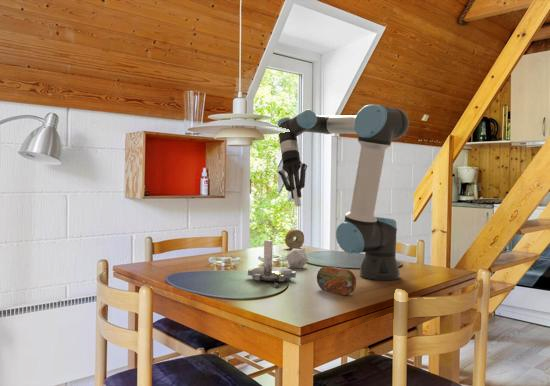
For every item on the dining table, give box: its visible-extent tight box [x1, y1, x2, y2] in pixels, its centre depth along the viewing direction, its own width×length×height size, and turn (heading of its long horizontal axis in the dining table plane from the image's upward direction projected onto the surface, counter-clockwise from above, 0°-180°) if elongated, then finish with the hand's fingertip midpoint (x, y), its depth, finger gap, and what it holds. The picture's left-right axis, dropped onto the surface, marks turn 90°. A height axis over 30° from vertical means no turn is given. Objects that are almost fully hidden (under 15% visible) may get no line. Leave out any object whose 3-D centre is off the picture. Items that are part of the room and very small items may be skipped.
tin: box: [316, 266, 357, 296], centre depth 162 cm, size 15×3×8 cm, turn 44°
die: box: [285, 248, 309, 270], centre depth 203 cm, size 8×9×10 cm
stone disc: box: [284, 229, 305, 250], centre depth 252 cm, size 10×4×10 cm, turn 114°
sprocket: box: [247, 239, 297, 282], centre depth 179 cm, size 18×16×14 cm
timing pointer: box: [273, 281, 280, 288], centre depth 169 cm, size 4×1×1 cm, turn 9°
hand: (297, 205), depth 198 cm, fingers closed
